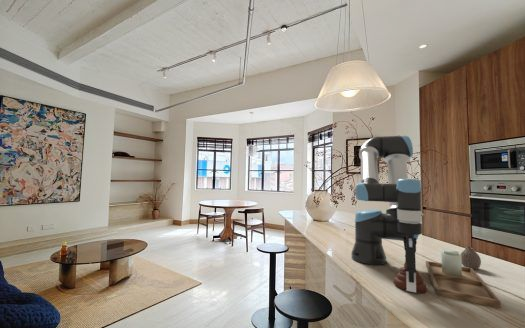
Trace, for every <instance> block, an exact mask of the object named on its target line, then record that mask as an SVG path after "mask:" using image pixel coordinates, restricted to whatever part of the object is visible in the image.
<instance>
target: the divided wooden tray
mask: <svg viewBox="0 0 525 328" xmlns="http://www.w3.org/2000/svg"><path fill="white" fill-rule="evenodd" d="M425 267H426V269H427V270H426V271H427V272H428V276H429V279H430V281H431V284H432V287H433V290H434V292H435V295H436V296H437V295H438V296H442V297H447V298H451V299H456V300H461V301H465V302H469V303H475V304H479V305H485V306H489V307H492V308H493V307H494V308H499V309H501V307H502V306H501V300H500V299H499V298H498V296H497V295H496V294H495V293H494V292H493V291H492V290H491V288H490V287H489V286H488V285H487V284H486V283H485V282H484V280H483V279H482V278H481V277H480V276H479V275H478V274H477V272H476V271H475V270H473V269H472V268H468V267H464V266H462V277H455V276H449V275H445V274H443V273H442V262H437V261H436V262H435V261H429V260H426V261H425Z"/></svg>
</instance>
